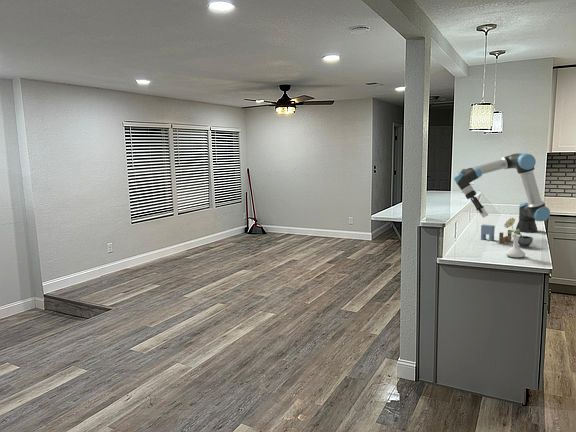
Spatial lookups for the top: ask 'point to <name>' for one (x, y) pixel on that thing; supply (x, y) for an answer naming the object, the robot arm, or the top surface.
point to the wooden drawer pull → (504, 238)
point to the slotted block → (487, 232)
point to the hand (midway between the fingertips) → (485, 216)
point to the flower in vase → (515, 250)
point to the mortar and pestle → (524, 241)
